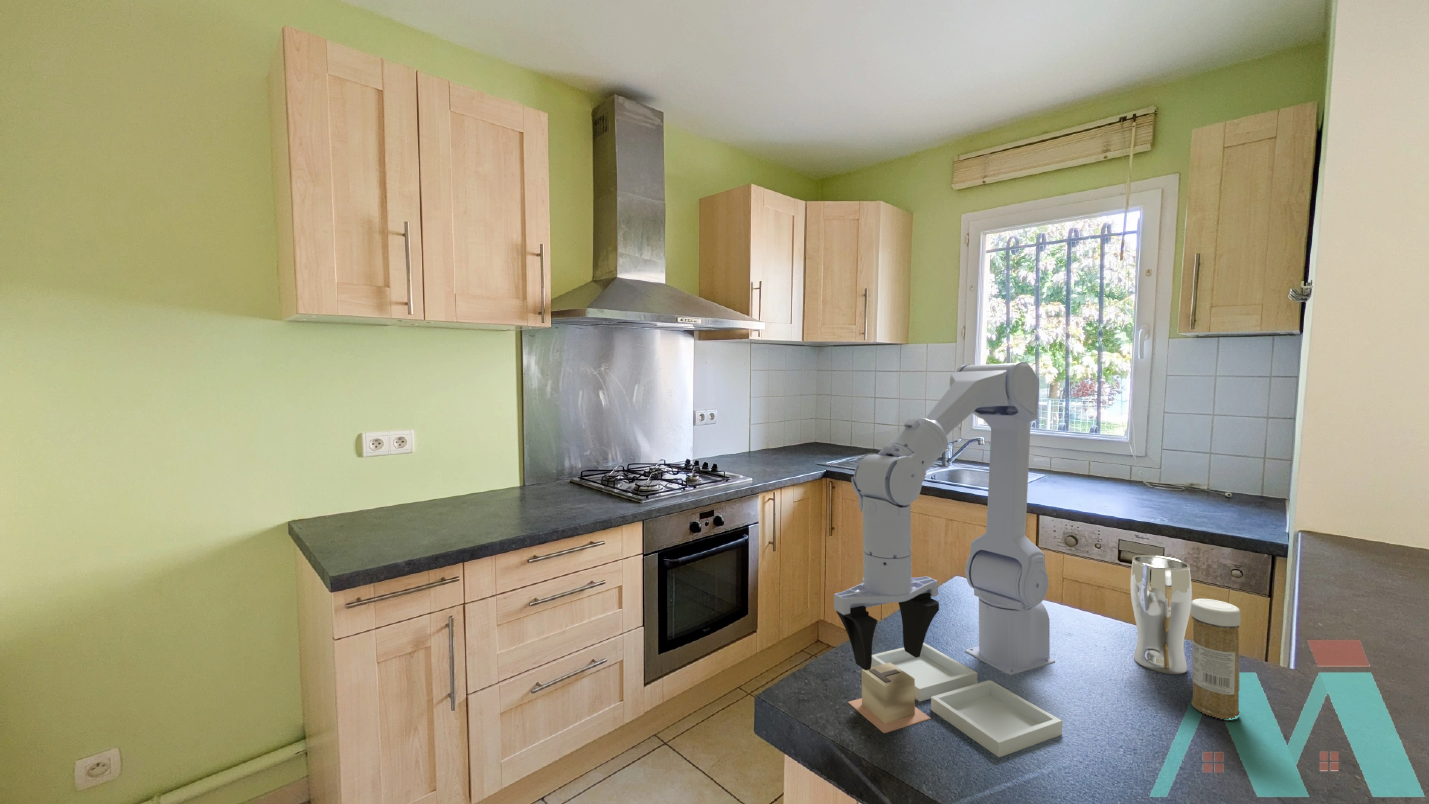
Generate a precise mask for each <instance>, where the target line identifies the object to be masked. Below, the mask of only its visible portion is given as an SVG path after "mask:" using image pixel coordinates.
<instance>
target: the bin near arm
mask: <svg viewBox="0 0 1429 804" xmlns="http://www.w3.org/2000/svg"><path fill="white" fill-rule="evenodd" d="M886 663H892V664H893V665H895V666H896V667H898V668H899V669H901V670H902V671H904V672H905V673H907V674H908V675H910V676H911V677H913V678H914V679H915V701H918V702H923V701H927V700H931V697H932V696H936V695H939V694H943V693H946V692H949V691H953V690H956V689H960V688H963V687H967V686H970V685H974V684H977V683H979V681H978V677H979V676H978V671H975V670H974V669H971V667H970V668H969V667H968V666H966V665H964V664H962V663H961V662H959V661H958V660H956V659H954V658H952V657H950V656H948V655H946V654H945V653H943V652H941V651H939V650H937V649H936V648H934V647H932V646H931V645H929V644H927V643H925V642H924V643H923V646H922V650H921V654H920V657H917V658H916V657H914V656H912V655H911V654H909V653H907V652H906V651H905V649H904V646H903V647H900V648H895V649H892V650H887V651H882V652H878V653H875V654H872V664H871V667H874V666H878V665H882V664H886Z"/></svg>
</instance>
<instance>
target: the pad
mask: <svg viewBox="0 0 1429 804" xmlns="http://www.w3.org/2000/svg"><path fill="white" fill-rule="evenodd" d="M847 704H849V705H850V706H851V707H852V708H853V709H855V710H856V711H857V712H858V713H859V714H860V715H862V716H863V717H864V718H865V719H866V720H867V721H868V722H870V723H871V724H872V725H874V727H876V728H877V729H878V730H879V731H881V732H882V733H883V734H887V733H890V732H893V731H897V730H900V729H902V728H907V727H909V726H913V725H917V724H920V723H923V722H927V721H929V720H931V718H932V717H930V715H927V714H926V713H924V712H923V711H922V710H921V709H919V708H917V707H916V706H915V715H913V716H909V717H906V718H903V719H899V720H896V721H892V722H889V723H886V724H885V723H884V722H883V721H881V720H880V719H879V718H878V717H877V716H875V715H874V714H873V713H872V712H870V711H869V710H868V709H867V708H866V707H864V706H863V705H862V697H861V698H858V699H857V698H856V699H854V700H850V701H848V702H847Z"/></svg>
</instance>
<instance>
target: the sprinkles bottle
mask: <svg viewBox="0 0 1429 804" xmlns="http://www.w3.org/2000/svg"><path fill="white" fill-rule="evenodd" d="M1190 616H1192V617H1191V619H1192V641H1191V642H1192V645H1191V646H1192V653H1191V654H1192V656H1191V657H1192V658H1191V659H1192V660H1191V661H1192V663H1191V665H1192V666H1191V667H1192V669H1191V671H1192V672H1191V673H1192V675H1191V676H1192V677H1191V679H1192V699H1191V705H1192V707H1193V708H1194V709H1195V710H1197V711H1198V712H1200V713H1201V712H1202V714H1203V715H1205V714H1206V716H1208V715H1209V716H1208V717H1210V716H1213V717H1217V718H1222V719H1229V718H1231V719H1232V718H1235V716H1238V715H1239V713H1240V711H1239V708H1240V707H1239V705H1240V704H1239V702H1240V700H1239V697H1240V696H1239V695H1240V694H1239V693H1240V683H1241V682H1240V681H1241V679H1240V676H1241V675H1240V659H1239V656H1240V655H1239V654H1240V652H1239V650H1240V649H1239V647H1240V645H1239V639H1240V638H1239V637H1240V636H1239V629H1240V625H1241V619H1242V618H1241V616H1242V615H1241V610H1240V608H1239V607H1237V606H1235V605H1234V604H1231V603H1229V602H1225V601H1221V600H1217V599H1211V598H1196V599H1192V602H1191V610H1190ZM1213 717H1212V718H1213ZM1217 718H1216V719H1217ZM1222 719H1221V720H1222Z"/></svg>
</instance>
